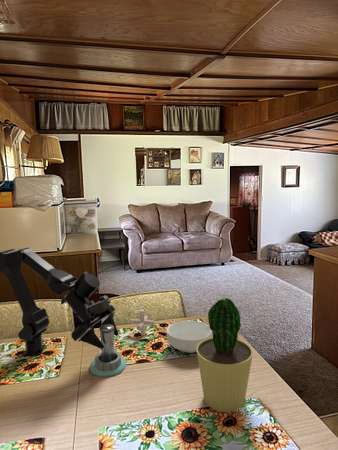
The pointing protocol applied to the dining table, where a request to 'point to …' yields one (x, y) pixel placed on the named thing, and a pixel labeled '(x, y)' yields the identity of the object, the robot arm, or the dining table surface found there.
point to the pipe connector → (142, 322)
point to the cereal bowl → (188, 335)
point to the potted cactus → (224, 359)
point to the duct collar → (108, 366)
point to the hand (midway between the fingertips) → (110, 341)
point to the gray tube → (107, 343)
